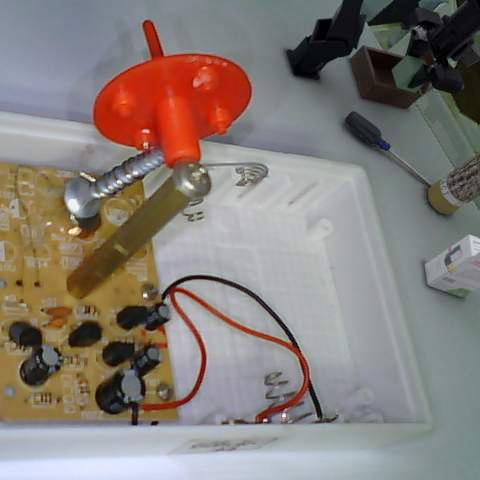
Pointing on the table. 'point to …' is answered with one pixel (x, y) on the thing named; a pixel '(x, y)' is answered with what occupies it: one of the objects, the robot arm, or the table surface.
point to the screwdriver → (374, 137)
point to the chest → (380, 77)
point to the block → (407, 72)
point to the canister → (456, 187)
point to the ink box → (456, 268)
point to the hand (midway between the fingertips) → (406, 78)
